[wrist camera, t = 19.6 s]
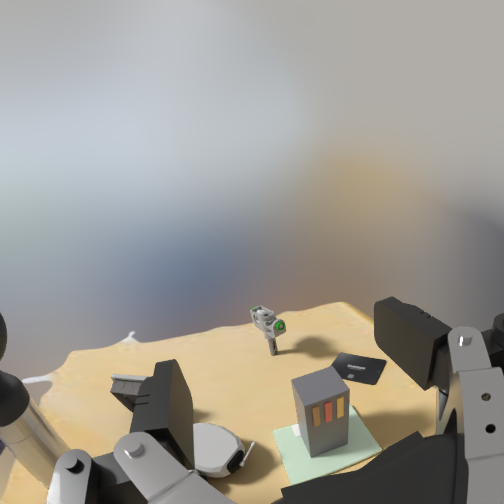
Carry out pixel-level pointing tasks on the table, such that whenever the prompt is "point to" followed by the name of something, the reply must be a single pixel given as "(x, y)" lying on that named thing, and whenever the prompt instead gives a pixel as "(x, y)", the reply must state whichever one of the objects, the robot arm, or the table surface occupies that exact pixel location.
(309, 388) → the plug block
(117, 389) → the electrical switch
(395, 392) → the table surface
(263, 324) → the mechanical component
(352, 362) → the solid state drive
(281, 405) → the table surface
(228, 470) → the robot toy
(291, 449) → the board
